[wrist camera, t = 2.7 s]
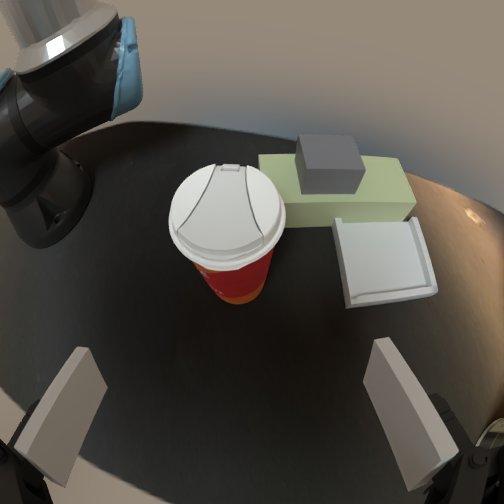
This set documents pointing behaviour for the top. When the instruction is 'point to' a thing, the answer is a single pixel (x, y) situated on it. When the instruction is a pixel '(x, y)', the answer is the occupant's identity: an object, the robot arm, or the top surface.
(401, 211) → the green block with cube
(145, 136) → the top surface
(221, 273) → the paper cup
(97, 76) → the robot arm
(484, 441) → the coffee can
